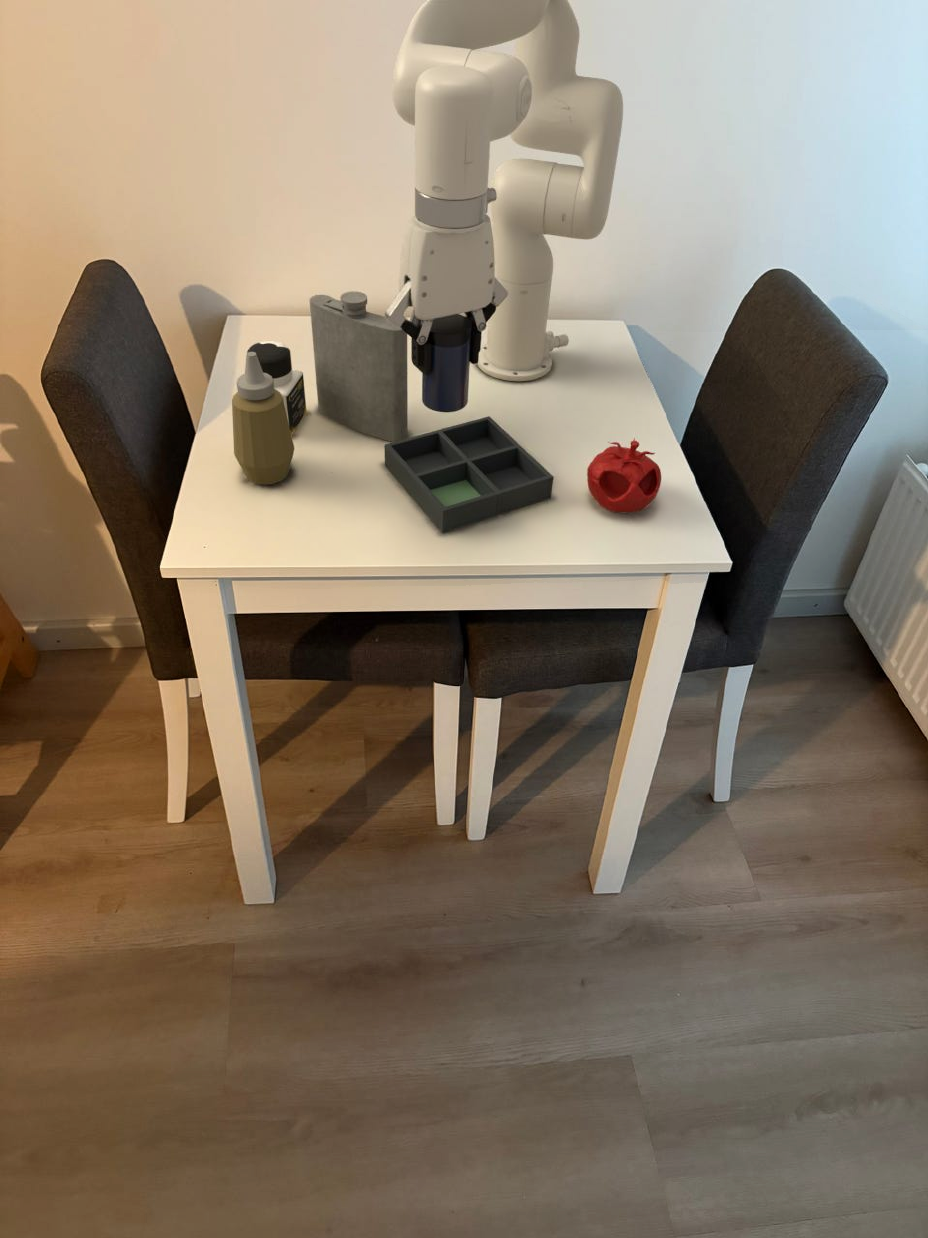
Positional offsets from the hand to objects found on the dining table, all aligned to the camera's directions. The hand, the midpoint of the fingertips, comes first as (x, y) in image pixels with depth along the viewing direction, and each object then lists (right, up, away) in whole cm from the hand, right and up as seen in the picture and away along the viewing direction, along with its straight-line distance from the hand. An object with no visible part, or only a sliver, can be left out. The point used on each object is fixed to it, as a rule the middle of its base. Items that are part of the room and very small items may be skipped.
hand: (446, 362), depth 105 cm
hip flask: (-13, -1, +29) cm, 32 cm away
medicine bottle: (-26, -1, +28) cm, 38 cm away
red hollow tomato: (+24, -14, +18) cm, 33 cm away
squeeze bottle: (-25, -10, +19) cm, 33 cm away
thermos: (0, -4, +3) cm, 5 cm away
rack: (+3, -11, +19) cm, 22 cm away
